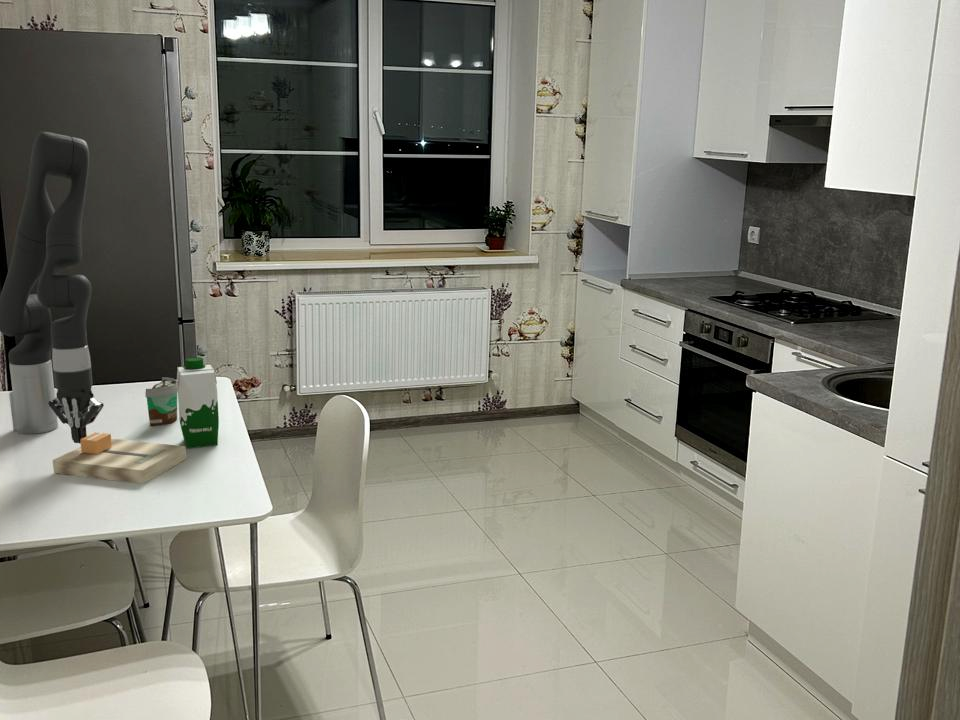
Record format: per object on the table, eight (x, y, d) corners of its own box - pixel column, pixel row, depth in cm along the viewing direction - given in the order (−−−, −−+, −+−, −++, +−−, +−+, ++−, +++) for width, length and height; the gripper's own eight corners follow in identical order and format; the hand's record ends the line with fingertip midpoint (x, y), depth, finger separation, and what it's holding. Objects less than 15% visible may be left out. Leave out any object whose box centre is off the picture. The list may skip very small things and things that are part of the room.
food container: (172, 428, 227) (169, 389, 225) (147, 427, 227) (144, 389, 225) (188, 413, 239) (186, 377, 237) (165, 413, 239) (162, 376, 237)
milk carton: (216, 434, 222) (212, 355, 218) (222, 446, 214) (217, 363, 210) (179, 439, 219) (173, 358, 214) (183, 450, 211) (177, 367, 206)
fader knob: (81, 452, 200) (80, 438, 199) (96, 445, 204) (95, 432, 203) (97, 454, 199) (96, 440, 198) (111, 446, 203) (110, 433, 203)
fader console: (53, 473, 196) (52, 459, 195) (101, 449, 211) (100, 436, 210) (143, 483, 190) (142, 469, 190) (186, 458, 206) (185, 445, 205)
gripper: (109, 364, 200) (116, 439, 204) (58, 360, 203) (65, 434, 207) (86, 372, 193) (94, 450, 197) (34, 368, 196) (42, 444, 200)
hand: (79, 442), depth 202 cm, fingers closed
